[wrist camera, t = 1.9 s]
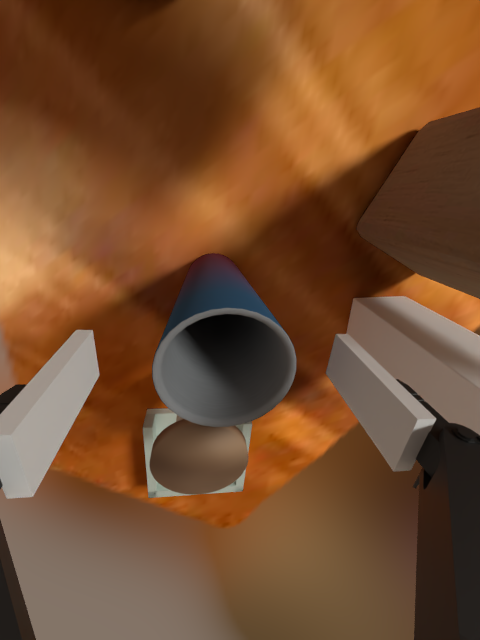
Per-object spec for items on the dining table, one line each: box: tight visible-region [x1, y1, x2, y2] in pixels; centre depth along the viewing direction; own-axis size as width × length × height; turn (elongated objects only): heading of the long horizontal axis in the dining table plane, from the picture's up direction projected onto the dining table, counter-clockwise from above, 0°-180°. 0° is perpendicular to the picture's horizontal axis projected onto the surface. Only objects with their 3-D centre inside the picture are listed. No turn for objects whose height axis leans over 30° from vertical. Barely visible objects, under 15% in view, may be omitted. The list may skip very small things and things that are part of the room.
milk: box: [346, 296, 480, 435], centre depth 21 cm, size 6×6×22 cm
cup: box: [152, 253, 296, 427], centre depth 20 cm, size 7×7×15 cm
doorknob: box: [149, 415, 248, 494], centre depth 25 cm, size 7×7×12 cm
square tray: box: [143, 408, 252, 498], centre depth 34 cm, size 12×12×3 cm
